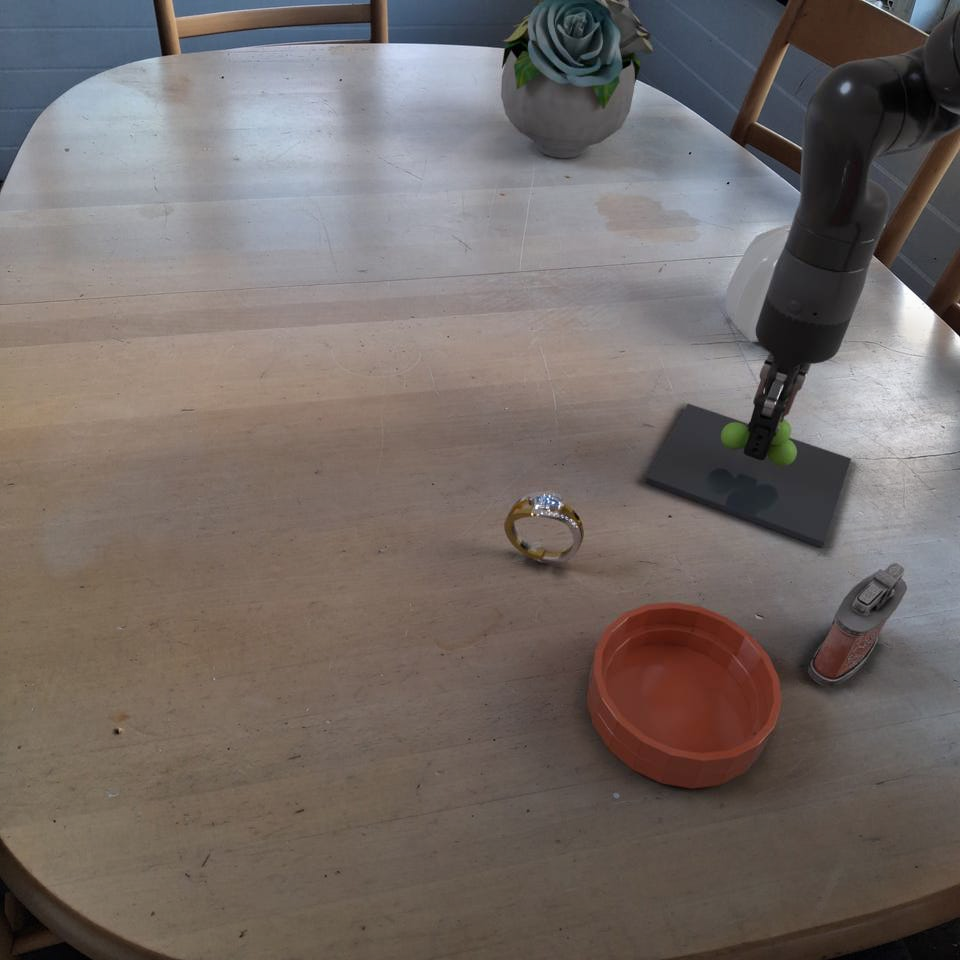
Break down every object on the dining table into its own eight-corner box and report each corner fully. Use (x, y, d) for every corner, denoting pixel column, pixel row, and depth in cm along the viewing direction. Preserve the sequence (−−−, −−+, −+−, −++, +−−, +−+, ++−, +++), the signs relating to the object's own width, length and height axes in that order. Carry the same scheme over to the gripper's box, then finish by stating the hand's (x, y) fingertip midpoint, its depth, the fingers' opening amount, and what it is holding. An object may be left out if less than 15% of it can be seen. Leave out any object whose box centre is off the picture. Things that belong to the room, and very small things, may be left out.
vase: (707, 343, 111) (734, 244, 101) (734, 291, 120) (761, 196, 111) (820, 377, 107) (859, 277, 98) (839, 321, 116) (876, 224, 107)
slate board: (849, 463, 95) (851, 458, 95) (822, 548, 86) (825, 542, 85) (686, 408, 101) (687, 403, 100) (644, 482, 91) (646, 476, 91)
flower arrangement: (663, 153, 152) (695, -6, 135) (569, 196, 138) (592, 25, 121) (551, 108, 164) (568, -44, 147) (454, 143, 150) (461, -20, 133)
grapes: (794, 459, 92) (813, 412, 87) (788, 475, 90) (807, 428, 85) (722, 434, 94) (737, 387, 90) (714, 449, 92) (729, 402, 88)
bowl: (783, 679, 75) (799, 646, 72) (738, 824, 65) (754, 793, 62) (622, 612, 79) (631, 578, 76) (558, 738, 69) (565, 706, 66)
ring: (497, 559, 83) (504, 496, 77) (510, 536, 85) (517, 473, 79) (569, 585, 81) (581, 522, 75) (580, 561, 83) (592, 498, 78)
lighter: (848, 619, 80) (890, 542, 73) (883, 643, 78) (929, 566, 71) (798, 668, 76) (837, 591, 69) (834, 695, 74) (877, 618, 67)
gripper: (839, 349, 73) (778, 501, 85) (868, 274, 83) (809, 420, 94) (749, 322, 76) (702, 473, 87) (786, 252, 85) (740, 397, 97)
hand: (758, 445), depth 91 cm, fingers closed on grapes, 2 cm apart
